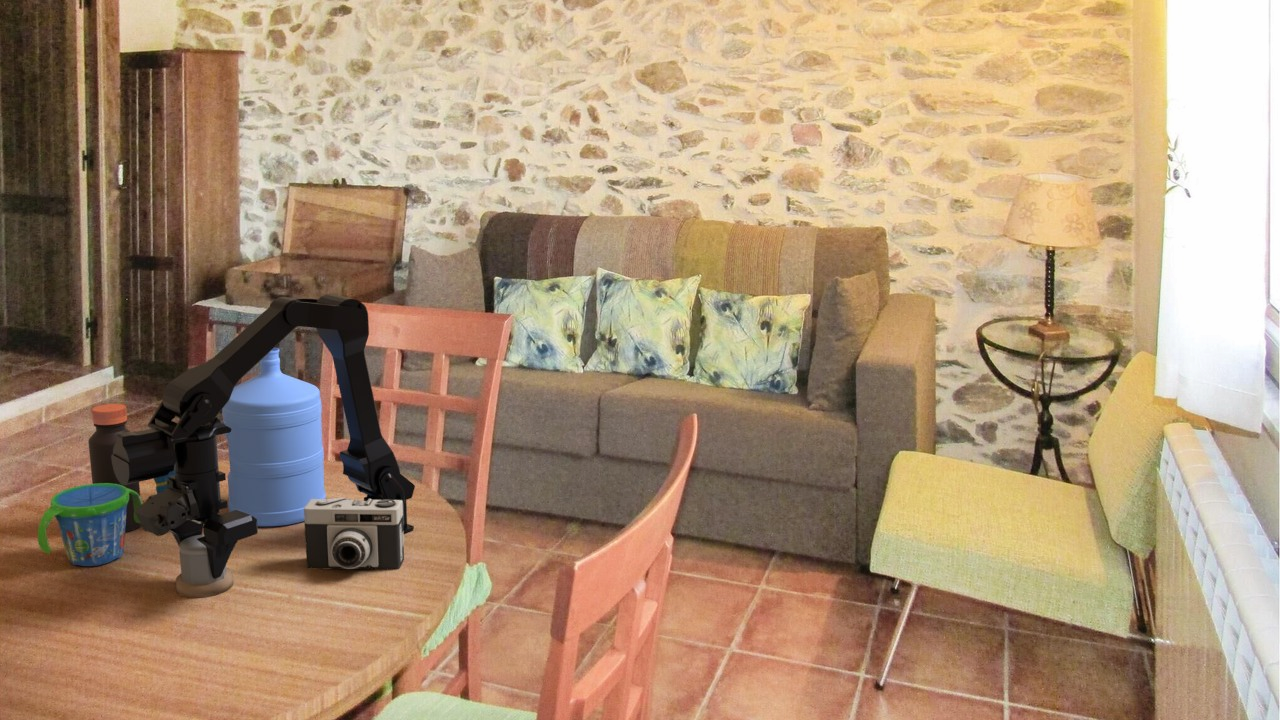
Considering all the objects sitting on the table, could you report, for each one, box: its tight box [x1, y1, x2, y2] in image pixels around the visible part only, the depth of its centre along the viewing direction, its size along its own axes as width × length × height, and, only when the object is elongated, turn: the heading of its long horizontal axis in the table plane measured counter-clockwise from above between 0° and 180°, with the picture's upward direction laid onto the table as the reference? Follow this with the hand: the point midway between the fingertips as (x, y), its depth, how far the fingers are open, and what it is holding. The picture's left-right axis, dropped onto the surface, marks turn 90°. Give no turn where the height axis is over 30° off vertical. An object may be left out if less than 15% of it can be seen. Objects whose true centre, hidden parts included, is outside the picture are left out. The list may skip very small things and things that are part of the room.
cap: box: [178, 533, 227, 585], centre depth 158 cm, size 6×6×5 cm
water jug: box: [221, 347, 327, 527], centre depth 185 cm, size 16×16×28 cm
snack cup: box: [37, 483, 144, 567], centre depth 166 cm, size 16×10×10 cm
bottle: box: [87, 403, 142, 533], centre depth 177 cm, size 7×7×20 cm
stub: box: [175, 566, 234, 599], centre depth 158 cm, size 8×8×5 cm
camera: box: [304, 497, 405, 571], centre depth 165 cm, size 14×8×10 cm, turn 91°
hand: (204, 572), depth 158 cm, fingers closed on cap, 6 cm apart
